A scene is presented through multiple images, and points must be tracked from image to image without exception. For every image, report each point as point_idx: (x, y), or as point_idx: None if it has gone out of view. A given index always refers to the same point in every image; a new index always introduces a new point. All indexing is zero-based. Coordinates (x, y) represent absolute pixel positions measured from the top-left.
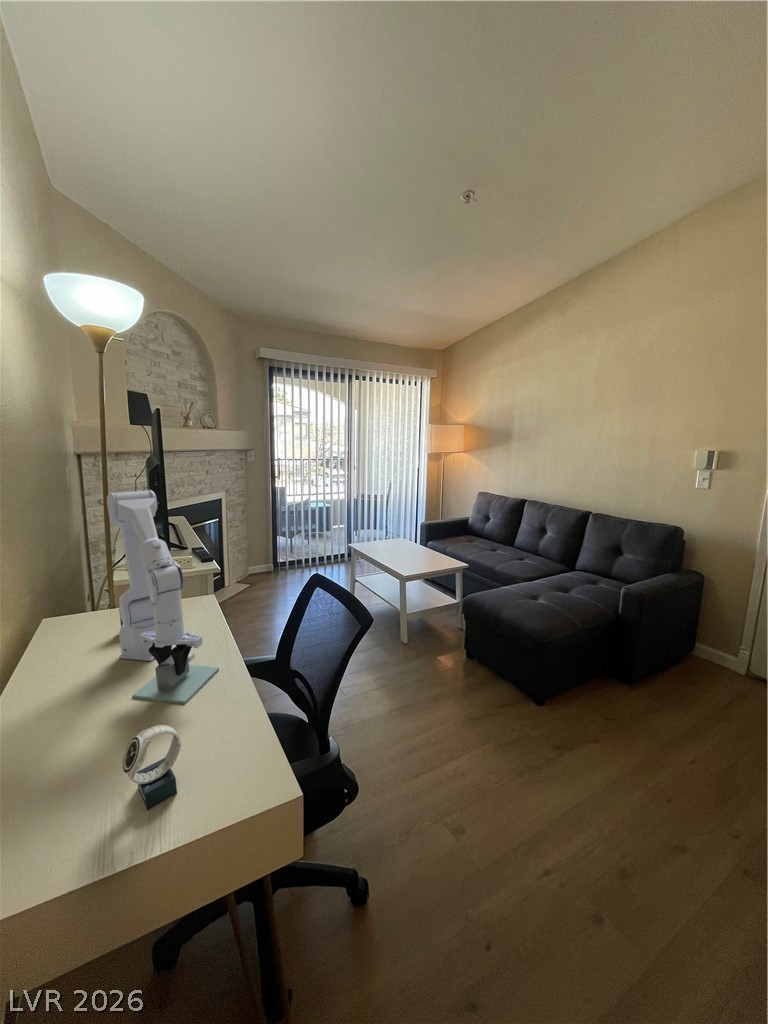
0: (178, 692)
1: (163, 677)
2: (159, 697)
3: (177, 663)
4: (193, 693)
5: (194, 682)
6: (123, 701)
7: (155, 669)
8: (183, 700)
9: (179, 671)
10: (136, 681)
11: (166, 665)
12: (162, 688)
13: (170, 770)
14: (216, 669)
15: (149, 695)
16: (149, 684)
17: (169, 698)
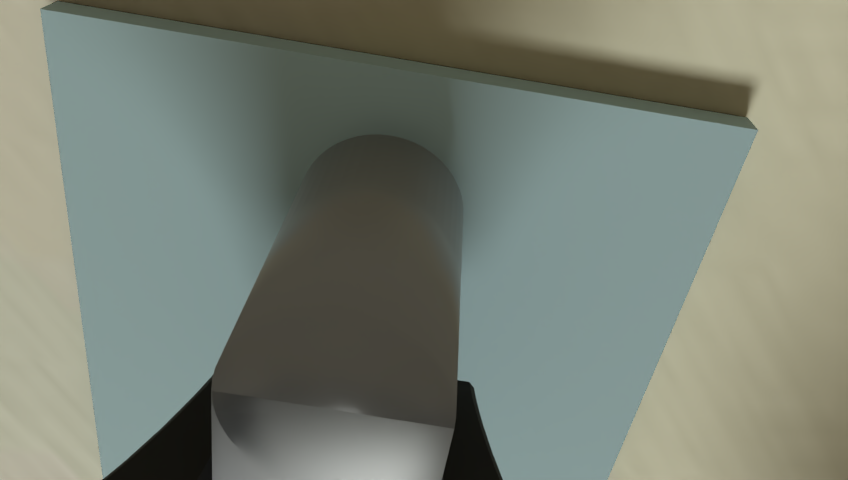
0: (233, 169)
1: (296, 242)
2: (396, 82)
3: (132, 476)
4: (60, 153)
5: (178, 317)
6: (830, 50)
7: (426, 354)
8: (72, 26)
9: (209, 385)
10: (812, 364)
11: (306, 446)
12: (352, 151)
13: None
14: (109, 473)
15: (540, 121)
16: (637, 301)
17: (264, 63)
